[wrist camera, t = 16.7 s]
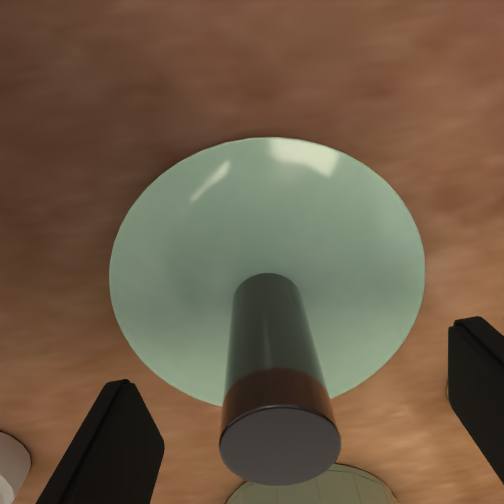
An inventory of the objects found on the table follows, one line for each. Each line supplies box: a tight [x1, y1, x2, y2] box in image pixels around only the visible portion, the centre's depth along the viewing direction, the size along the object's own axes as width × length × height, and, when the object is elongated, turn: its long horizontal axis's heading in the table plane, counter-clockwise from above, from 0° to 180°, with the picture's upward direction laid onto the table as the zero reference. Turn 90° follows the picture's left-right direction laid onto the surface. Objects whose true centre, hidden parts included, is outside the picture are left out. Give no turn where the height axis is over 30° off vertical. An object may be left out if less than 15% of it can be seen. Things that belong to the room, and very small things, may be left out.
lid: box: [109, 136, 426, 486], centre depth 10 cm, size 13×13×7 cm
